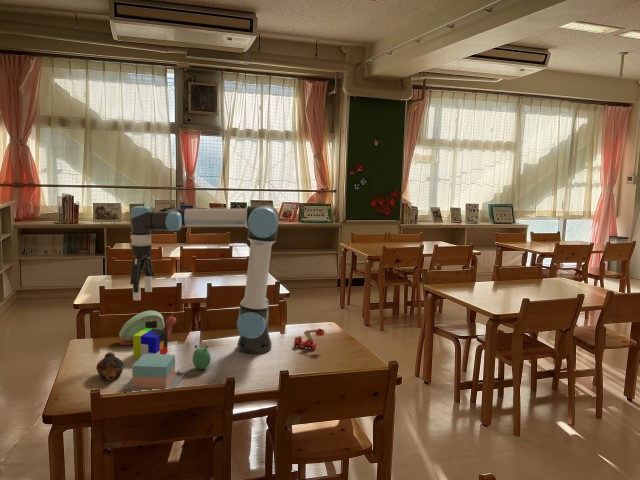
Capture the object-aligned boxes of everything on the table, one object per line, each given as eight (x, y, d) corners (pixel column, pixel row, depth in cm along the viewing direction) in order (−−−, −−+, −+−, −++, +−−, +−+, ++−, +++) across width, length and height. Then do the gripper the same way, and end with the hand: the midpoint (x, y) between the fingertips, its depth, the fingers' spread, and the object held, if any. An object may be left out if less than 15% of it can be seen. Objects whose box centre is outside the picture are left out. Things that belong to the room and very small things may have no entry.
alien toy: (209, 364, 216) (209, 340, 214) (211, 371, 208) (211, 347, 207) (192, 365, 214) (192, 341, 212) (192, 372, 206) (192, 348, 205)
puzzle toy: (155, 361, 217) (155, 337, 215) (133, 358, 219) (133, 335, 217) (167, 352, 227) (167, 330, 225) (146, 350, 229) (145, 327, 227)
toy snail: (119, 347, 231) (119, 316, 229) (118, 341, 238) (117, 311, 236) (178, 340, 242) (177, 311, 240) (174, 335, 249) (174, 306, 247)
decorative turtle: (120, 367, 209) (121, 348, 207) (126, 385, 196) (127, 364, 194) (93, 370, 204) (94, 350, 203) (97, 388, 191) (98, 367, 190)
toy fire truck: (296, 344, 242) (296, 324, 240) (323, 349, 237) (324, 329, 235) (293, 347, 239) (293, 326, 237) (321, 352, 234) (321, 331, 232)
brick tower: (185, 374, 205) (185, 352, 204) (172, 394, 187) (172, 370, 186) (138, 372, 205) (138, 350, 204) (121, 392, 187) (120, 368, 186)
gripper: (142, 239, 226) (144, 288, 229) (120, 249, 201) (122, 303, 205) (160, 240, 226) (161, 288, 229) (140, 249, 201) (141, 304, 204)
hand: (142, 295), depth 217 cm, fingers open, 13 cm apart
